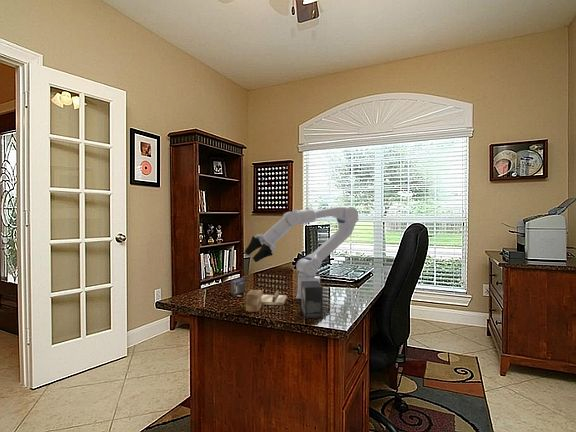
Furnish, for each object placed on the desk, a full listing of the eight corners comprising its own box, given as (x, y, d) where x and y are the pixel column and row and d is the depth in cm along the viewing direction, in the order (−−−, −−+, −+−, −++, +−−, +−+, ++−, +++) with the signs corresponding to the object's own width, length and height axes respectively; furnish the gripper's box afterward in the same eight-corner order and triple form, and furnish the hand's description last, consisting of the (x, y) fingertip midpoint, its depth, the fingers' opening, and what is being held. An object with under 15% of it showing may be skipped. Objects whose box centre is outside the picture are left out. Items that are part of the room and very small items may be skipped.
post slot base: (286, 297, 142) (286, 290, 142) (283, 305, 130) (283, 297, 130) (253, 296, 143) (253, 290, 143) (246, 303, 131) (246, 296, 132)
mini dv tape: (233, 295, 146) (233, 281, 146) (230, 294, 147) (230, 280, 147) (244, 291, 154) (245, 278, 154) (242, 291, 154) (242, 277, 154)
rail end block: (261, 306, 129) (261, 290, 129) (257, 312, 121) (257, 294, 121) (250, 305, 129) (250, 289, 129) (245, 311, 121) (246, 294, 121)
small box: (300, 309, 124) (300, 280, 124) (318, 309, 124) (318, 280, 124) (304, 318, 113) (304, 286, 113) (323, 318, 114) (323, 286, 114)
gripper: (261, 221, 143) (237, 243, 140) (278, 232, 131) (252, 257, 128) (270, 233, 147) (246, 255, 144) (287, 244, 135) (262, 268, 132)
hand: (250, 256), depth 136 cm, fingers open, 7 cm apart
